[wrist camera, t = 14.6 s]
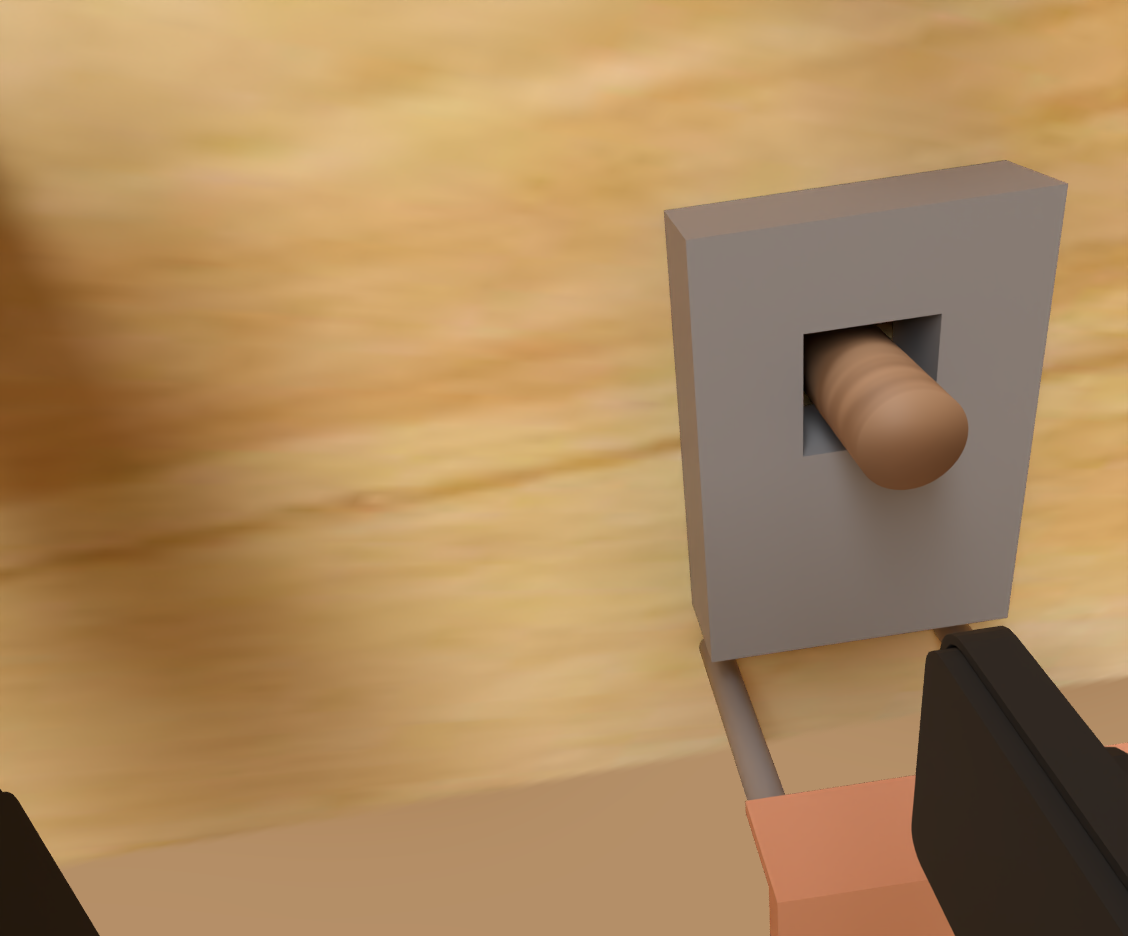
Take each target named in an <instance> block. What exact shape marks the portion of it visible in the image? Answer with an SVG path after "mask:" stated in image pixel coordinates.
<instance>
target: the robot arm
mask: <svg viewBox="0 0 1128 936" xmlns="http://www.w3.org/2000/svg"><path fill="white" fill-rule="evenodd" d="M911 832H912V840H913V844H914V848H915V852H916V855H917V858H918V860H919V863H920V865H921V867H922V869H923V871H924V873H925V875H926V877H927V879H928V882H929V884H930V886H931V888H932V890H933V892H934V894H935V896H936V898H937V900H938V902H939V904H940V906H941V908H942V910H943V912H944V914H945V916H946V918H947V921H948V923H949V925H950V927H951V929H952V931H953V933H954V935H955V936H1128V753H1126V752H1124V751H1122V750H1120V749H1119V748H1117V747H1104V746H1103V745H1102V743H1101V742H1100V741H1099V740H1098V738H1097V737H1096V736H1095V735H1094V733H1093V732H1092V731H1091V729H1090V728H1089V727H1088V726H1087V725H1086V723H1085V722H1084V721H1083V719H1082V718H1081V717H1080V716H1079V714H1078V713H1077V712H1076V711H1075V709H1074V708H1073V707H1072V706H1071V704H1070V703H1069V702H1068V701H1067V699H1066V698H1065V697H1064V695H1063V694H1062V693H1061V692H1060V690H1059V689H1058V688H1057V687H1056V685H1055V684H1054V683H1053V682H1052V680H1051V679H1050V678H1049V677H1048V675H1047V674H1046V673H1045V672H1044V670H1043V669H1042V668H1041V667H1040V665H1039V664H1038V663H1037V661H1036V660H1035V659H1034V658H1033V656H1032V655H1031V654H1030V653H1029V651H1028V650H1027V649H1026V648H1025V646H1024V645H1023V644H1022V643H1021V641H1020V640H1019V639H1018V638H1017V636H1016V635H1015V634H1014V633H1013V632H1012V631H1011V630H1010V629H1009V628H1006V627H1004V626H997V627H991V628H984V629H978V630H971V631H964V632H958V633H951V634H947V635H945V637H944V638H943V640H942V643H941V648H940V650H936V651H931V652H929V653H928V655H927V657H926V663H925V674H924V686H923V697H922V708H921V720H920V731H919V743H918V755H917V766H916V777H915V789H914V800H913V811H912V823H911ZM0 936H99V934H98V932H97V931H96V929H95V928H94V926H93V924H92V922H91V921H90V919H89V917H88V916H87V914H86V913H85V911H84V909H83V907H82V906H81V904H80V902H79V901H78V899H77V898H76V896H75V894H74V892H73V891H72V889H71V888H70V886H69V884H68V883H67V881H66V879H65V878H64V876H63V874H62V873H61V871H60V869H59V868H58V866H57V864H56V863H55V861H54V859H53V858H52V856H51V854H50V853H49V851H48V849H47V848H46V846H45V844H44V843H43V841H42V839H41V838H40V836H39V834H38V833H37V831H36V829H35V828H34V826H33V824H32V823H31V821H30V819H29V818H28V816H27V814H26V813H25V811H24V810H23V808H22V806H21V805H20V803H19V801H18V800H17V798H16V797H15V796H14V795H13V794H11V793H9V792H2V791H1V789H0Z"/></svg>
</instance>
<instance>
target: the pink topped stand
mask: <svg viewBox="0 0 1128 936" xmlns="http://www.w3.org/2000/svg"><path fill="white" fill-rule="evenodd" d="M971 630H972V629H971V627H970V626H969V625H968V624H962V625H956V626H949V627H943V628H936V629H933V631H934V632H935V634H936V635H937V637H938V638H939V640H940V641H941V643H942V640H943V638H944V637H945V635H947V634H951V633H958V632H964V631H971ZM699 649H700V653H701V656H702V659H703V662H704V665H705V668H706V672H707V675H708V678H709V681H710V684H711V687H712V690H713V694H714V697H715V700H716V703H717V706H718V709H719V712H720V716H721V719H722V722H723V725H724V728H725V731H726V734H727V738H728V741H729V744H730V747H731V750H732V753H733V756H734V759H735V763H736V766H737V769H738V772H739V775H740V778H741V782H742V785H743V788H744V791H745V794H746V797H747V800H748V801H745V805H746V815H747V818H748V821H749V824H750V827H751V831H752V834H753V837H754V840H755V844H756V847H757V850H758V853H759V857H760V860H761V863H762V866H763V869H764V873H765V875H766V879H767V882H768V885H769V904H770V905H769V906H770V936H955V935H954V933H953V931H952V929H951V927H950V925H949V923H948V921H947V918H946V916H945V914H944V912H943V910H942V908H941V906H940V904H939V902H938V900H937V898H936V896H935V894H934V892H933V890H932V888H931V886H930V884H929V882H928V879H927V877H926V875H925V873H924V871H923V869H922V867H921V865H920V863H919V860H918V858H917V855H916V852H915V848H914V844H913V840H912V832H911V823H912V811H913V800H914V789H915V777H916V775H912V776H905V777H899V778H893V779H886V780H879V781H872V782H866V783H859V784H853V785H847V786H840V787H833V788H827V789H820V790H814V791H807V792H801V793H794V794H788V795H785V793H784V791H783V788H782V785H781V782H780V780H779V777H778V774H777V771H776V769H775V766H774V763H773V760H772V758H771V755H770V752H769V749H768V747H767V744H766V741H765V739H764V736H763V733H762V730H761V728H760V725H759V722H758V719H757V717H756V714H755V711H754V708H753V706H752V703H751V700H750V697H749V695H748V692H747V689H746V687H745V684H744V681H743V678H742V676H741V673H740V670H739V667H738V665H737V662H736V659H731V660H725V661H718V662H711V659H710V656H709V653H708V650H707V647H706V644H705V641H704V639H703V640H702V641H701V643H700V646H699ZM1104 747H1117V748H1119V749H1120V750H1122V751H1124V752H1126V753H1128V743H1122V744H1115V745H1108V746H1104Z"/></svg>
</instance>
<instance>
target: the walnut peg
mask: <svg viewBox="0 0 1128 936" xmlns="http://www.w3.org/2000/svg"><path fill="white" fill-rule="evenodd" d="M803 391H804V392H805V394H806V395H807V396H808V398H809V399H810V400H811V402H812V403H813V404H814V406H815V407H816V409H817V410H818V411H819V413H820V414H821V415H822V417H823V418H824V419H825V421H826V422H827V424H828V425H829V426H830V428H831V429H832V430H833V432H834V433H835V434H836V436H837V437H838V439H839V440H840V441H841V443H842V444H843V445H844V447H845V448H846V449H847V451H848V452H849V454H850V455H851V456H852V458H853V459H854V460H855V462H856V463H857V464H858V466H859V467H860V468H861V470H862V471H863V473H864V474H865V475H866V476H867V477H868V478H869V479H870V480H871V481H872V482H874V483H875V484H877V485H879V486H881V487H884V488H887V489H893V490H908V489H914V488H918V487H921V486H924V485H926V484H929V483H931V482H933V481H934V480H936V479H938V478H939V477H941V476H942V475H944V474H945V473H946V472H947V471H948V470H949V469H950V468H951V467H952V466H953V465H954V464H955V463H956V461H957V460H958V459H959V457H960V455H961V454H962V452H963V450H964V448H965V445H966V442H967V438H968V420H967V417H966V414H965V412H964V410H963V408H962V407H961V406H960V404H959V403H958V402H957V401H956V400H955V399H954V398H952V397H951V396H950V395H949V394H948V393H947V392H946V391H945V390H944V389H943V388H942V387H941V386H940V385H939V384H938V383H937V382H936V381H934V380H933V379H932V378H931V377H930V376H929V375H928V374H927V373H926V372H925V371H924V370H923V369H922V368H921V367H920V366H919V365H918V364H916V363H915V362H914V361H913V360H912V359H911V358H910V357H909V356H908V355H907V354H906V353H905V352H904V351H903V350H902V349H901V348H899V347H898V346H897V345H896V344H895V343H894V342H893V341H892V340H891V339H890V338H889V337H888V336H887V335H886V334H885V333H884V332H883V331H881V330H880V329H879V328H878V327H877V326H876V325H875V324H869V325H862V326H855V327H848V328H842V329H835V330H828V331H822V332H815V333H808V334H803Z"/></svg>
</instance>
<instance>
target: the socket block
mask: <svg viewBox="0 0 1128 936" xmlns="http://www.w3.org/2000/svg"><path fill="white" fill-rule="evenodd" d="M1067 188H1068V183H1065V182H1062V181H1060V180H1057V179H1054V178H1052V177H1049V176H1047V175H1044V174H1041V173H1039V172H1036V171H1033V170H1031V169H1028V168H1025V167H1023V166H1020V165H1017V164H1015V163H1012V162H1010V161H1007V160H1004V161H997V162H990V163H984V164H977V165H970V166H963V167H956V168H950V169H943V170H936V171H929V172H923V173H916V174H909V175H902V176H895V177H889V178H882V179H875V180H868V181H861V182H855V183H848V184H841V185H834V186H828V187H821V188H814V189H807V190H800V191H794V192H787V193H780V194H773V195H766V196H760V197H753V198H746V199H739V200H733V201H726V202H719V203H712V204H705V205H699V206H692V207H685V208H678V209H671V210H665V211H664V218H665V231H666V245H667V259H668V273H669V287H670V301H671V315H672V329H673V342H674V356H675V370H676V384H677V398H678V412H679V426H680V440H681V453H682V467H683V481H684V495H685V509H686V523H687V537H688V550H689V564H690V578H691V592H692V604H693V607H694V610H695V613H696V616H697V619H698V622H699V625H700V628H701V631H702V634H703V638H704V641H705V644H706V647H707V650H708V653H709V656H710V659H711V662H718V661H725V660H731V659H738V658H745V657H751V656H758V655H764V654H771V653H778V652H784V651H791V650H797V649H804V648H811V647H817V646H824V645H830V644H837V643H844V642H850V641H857V640H863V639H870V638H877V637H883V636H890V635H896V634H903V633H910V632H916V631H923V630H929V629H936V628H943V627H949V626H956V625H962V624H969V623H976V622H982V621H989V620H995V619H1002V618H1007V617H1008V610H1009V603H1010V595H1011V588H1012V581H1013V574H1014V567H1015V560H1016V553H1017V545H1018V538H1019V531H1020V524H1021V517H1022V510H1023V503H1024V495H1025V488H1026V481H1027V474H1028V467H1029V460H1030V453H1031V445H1032V438H1033V431H1034V424H1035V417H1036V410H1037V403H1038V395H1039V388H1040V381H1041V374H1042V367H1043V360H1044V353H1045V345H1046V338H1047V331H1048V324H1049V317H1050V310H1051V303H1052V295H1053V288H1054V281H1055V274H1056V267H1057V260H1058V253H1059V245H1060V238H1061V231H1062V224H1063V217H1064V210H1065V203H1066V196H1067ZM889 321H894V323H893V342H894V343H895V344H896V345H897V346H898V347H899V348H901V349H902V350H903V351H904V352H905V353H906V354H907V355H908V356H909V357H910V358H911V359H912V360H913V361H914V362H915V363H916V364H918V365H919V366H920V367H921V368H922V369H923V370H924V371H925V372H926V373H927V374H928V375H929V376H930V377H931V378H932V379H933V380H934V381H936V382H937V383H938V384H939V385H940V386H941V387H942V388H943V389H944V390H945V391H946V392H947V393H948V394H949V395H950V396H951V397H952V398H954V399H955V400H956V401H957V402H958V403H959V404H960V406H961V407H962V408H963V410H964V412H965V414H966V417H967V420H968V438H967V442H966V445H965V448H964V450H963V452H962V454H961V455H960V457H959V459H958V460H957V461H956V463H955V464H954V465H953V466H952V467H951V468H950V469H949V470H948V471H947V472H946V473H945V474H944V475H942V476H941V477H939V478H938V479H936V480H934V481H933V482H931V483H929V484H926V485H924V486H921V487H918V488H914V489H908V490H893V489H887V488H884V487H881V486H879V485H877V484H875V483H874V482H872V481H871V480H870V479H869V478H868V477H867V476H866V475H865V474H864V473H863V471H862V470H861V468H860V467H859V466H858V464H857V463H856V462H855V460H854V459H853V458H852V456H851V455H850V454H849V452H848V451H847V449H846V448H845V447H844V445H843V444H842V443H841V441H840V440H839V439H838V437H837V436H836V434H835V433H834V432H833V430H832V429H831V428H830V426H829V425H828V424H827V422H826V421H825V419H824V418H823V417H822V415H821V414H820V413H819V411H818V410H817V409H816V407H815V406H814V404H811V405H804V406H803V334H808V333H815V332H822V331H828V330H835V329H842V328H848V327H855V326H862V325H869V324H875V323H882V322H889Z"/></svg>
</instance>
